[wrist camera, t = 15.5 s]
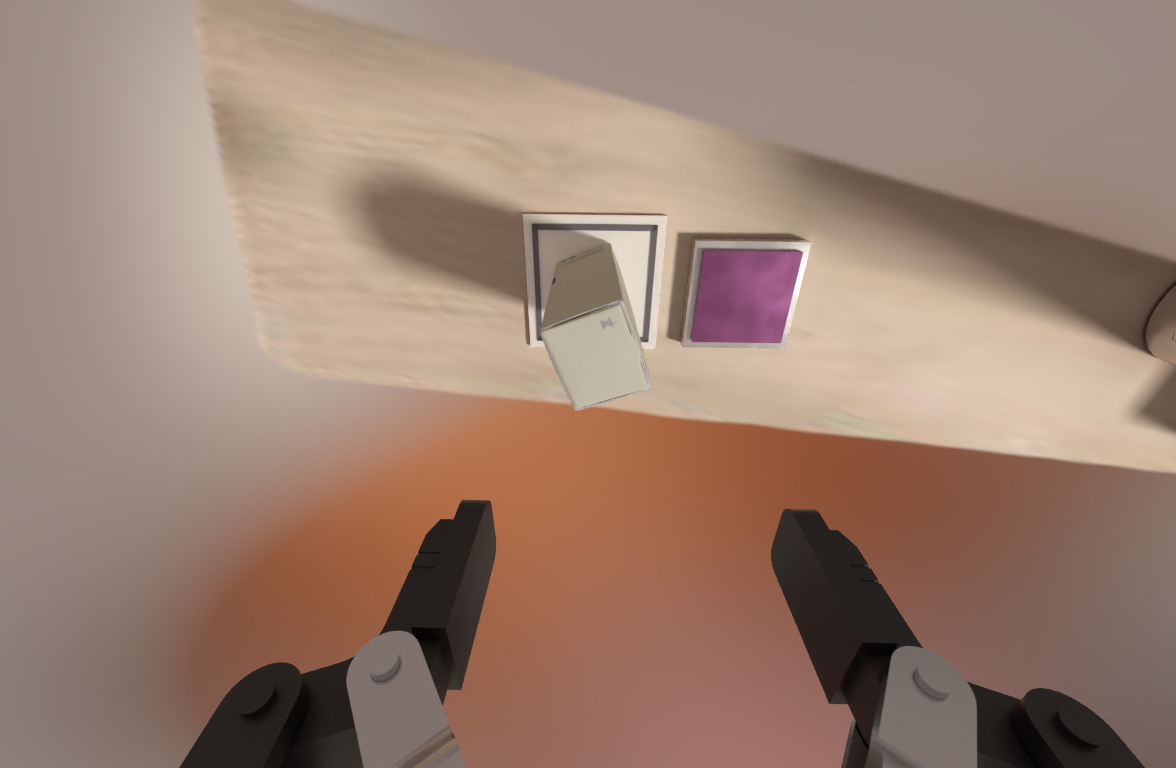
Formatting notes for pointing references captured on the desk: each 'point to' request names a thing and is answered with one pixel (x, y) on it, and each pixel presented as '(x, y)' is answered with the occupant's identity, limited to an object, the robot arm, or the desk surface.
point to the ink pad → (742, 292)
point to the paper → (575, 233)
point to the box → (593, 330)
